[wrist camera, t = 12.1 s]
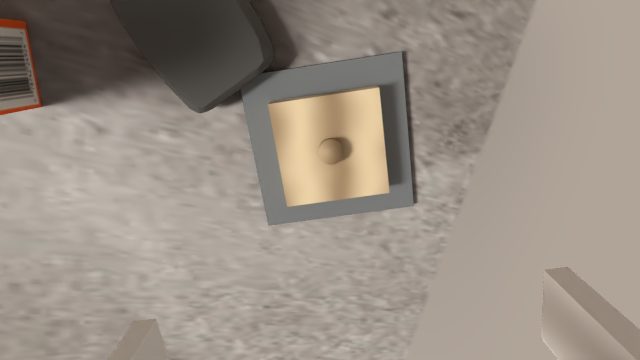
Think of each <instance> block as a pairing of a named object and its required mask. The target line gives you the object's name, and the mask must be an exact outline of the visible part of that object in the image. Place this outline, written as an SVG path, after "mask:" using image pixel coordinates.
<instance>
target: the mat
mask: <svg viewBox="0 0 640 360" xmlns="http://www.w3.org/2000/svg"><path fill="white" fill-rule="evenodd" d="M370 86H378V87H379V90H380V100H381V110H382V121H383V131H384V141H385V151H386V162H387V172H388V182H389V192H390V193H385V194H377V195H370V196H363V197H356V198H348V199H341V200H334V201H326V202H319V203H312V204H305V205H297V206H290V207H287V204H286V198H285V193H284V188H283V182H282V177H281V172H280V166H279V161H278V155H277V150H276V145H275V139H274V134H273V129H272V123H271V118H270V113H269V107H268V104H269V103H270V102H271V101H277V100H283V99H290V98H297V97H303V96H310V95H317V94H323V93H330V92H337V91H343V90H350V89H357V88H363V87H370ZM240 90H241V95H242V100H243V105H244V110H245V114H246V119H247V124H248V129H249V134H250V139H251V143H252V148H253V153H254V158H255V163H256V168H257V173H258V177H259V182H260V187H261V192H262V197H263V202H264V206H265V211H266V216H267V221H268V226H269V225H276V224H284V223H291V222H298V221H306V220H313V219H320V218H328V217H335V216H343V215H350V214H357V213H365V212H372V211H380V210H387V209H394V208H402V207H409V206H414V202H413V189H412V177H411V164H410V151H409V138H408V125H407V112H406V99H405V87H404V74H403V61H402V52H397V53H390V54H384V55H377V56H371V57H364V58H358V59H351V60H345V61H338V62H332V63H325V64H319V65H312V66H306V67H299V68H293V69H286V70H280V71H273V72H267V73H261V74H260V75H258V76H257V77H256V78H255V79H254V80H253V81H251V82H250V83H248V84H247V85H246V86H244V87H243V88H241V89H240Z"/></svg>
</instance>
